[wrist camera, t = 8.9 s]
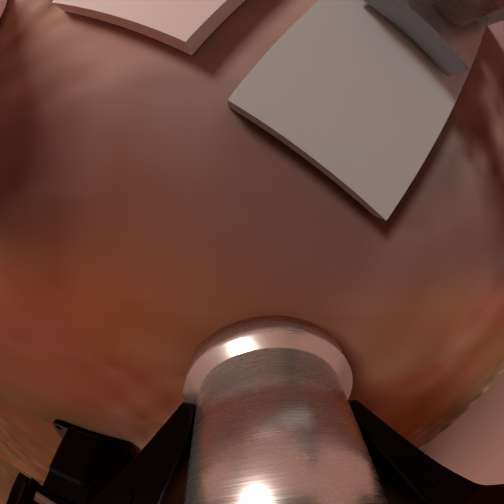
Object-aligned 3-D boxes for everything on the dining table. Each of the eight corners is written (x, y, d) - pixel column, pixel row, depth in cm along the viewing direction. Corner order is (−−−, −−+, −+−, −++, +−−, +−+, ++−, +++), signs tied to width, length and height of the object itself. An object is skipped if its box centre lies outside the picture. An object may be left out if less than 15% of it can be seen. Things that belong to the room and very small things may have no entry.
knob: (325, 422, 10) (362, 554, 3) (193, 423, 10) (176, 567, 3) (361, 314, 8) (476, 489, 2) (182, 310, 8) (110, 541, 1)
